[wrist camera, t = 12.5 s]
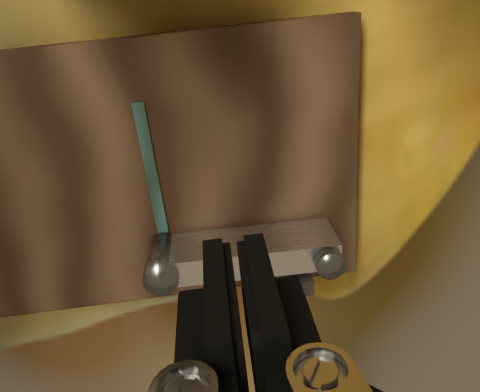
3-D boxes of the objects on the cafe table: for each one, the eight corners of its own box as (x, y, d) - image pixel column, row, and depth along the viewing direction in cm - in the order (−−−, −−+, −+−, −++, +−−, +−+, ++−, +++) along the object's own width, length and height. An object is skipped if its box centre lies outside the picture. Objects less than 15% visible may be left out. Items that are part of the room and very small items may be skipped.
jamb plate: (-2, 306, 37) (-36, 361, 32) (-106, 61, 28) (-177, 78, 23) (349, 261, 38) (374, 306, 33) (353, 11, 29) (388, 16, 24)
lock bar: (326, 215, 34) (346, 250, 29) (326, 242, 35) (345, 280, 30) (146, 234, 33) (138, 273, 28) (151, 261, 34) (144, 302, 30)
